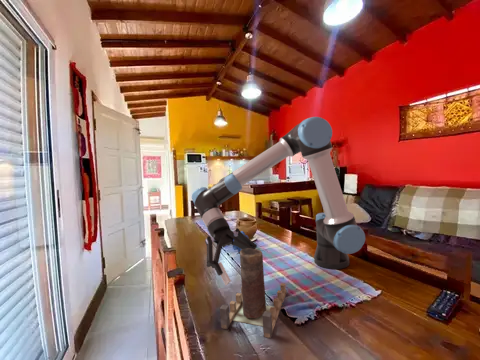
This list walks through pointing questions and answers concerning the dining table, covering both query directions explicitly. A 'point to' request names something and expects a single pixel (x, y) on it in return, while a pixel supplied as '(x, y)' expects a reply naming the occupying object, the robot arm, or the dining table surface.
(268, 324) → the comb lane
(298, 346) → the dining table surface
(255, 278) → the brown tall cylinder
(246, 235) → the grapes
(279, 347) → the dining table surface
